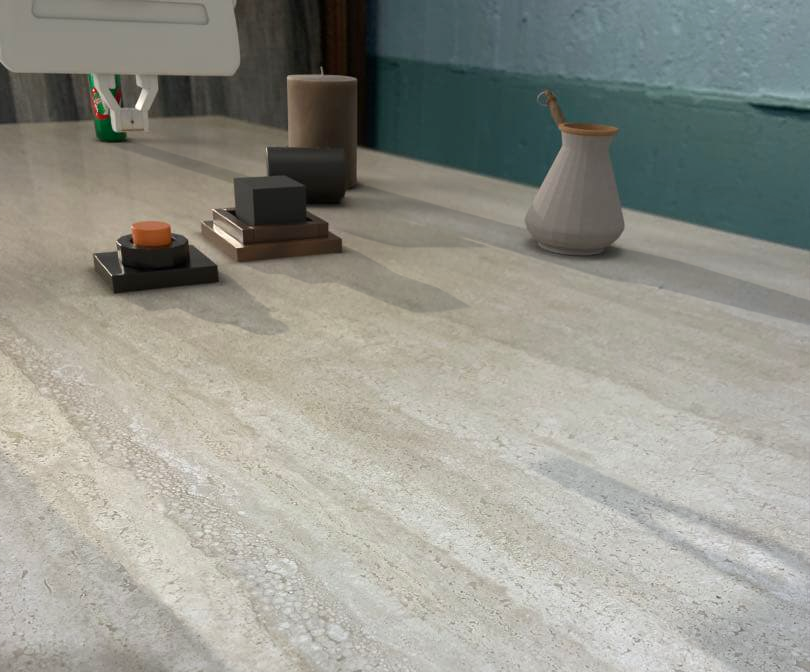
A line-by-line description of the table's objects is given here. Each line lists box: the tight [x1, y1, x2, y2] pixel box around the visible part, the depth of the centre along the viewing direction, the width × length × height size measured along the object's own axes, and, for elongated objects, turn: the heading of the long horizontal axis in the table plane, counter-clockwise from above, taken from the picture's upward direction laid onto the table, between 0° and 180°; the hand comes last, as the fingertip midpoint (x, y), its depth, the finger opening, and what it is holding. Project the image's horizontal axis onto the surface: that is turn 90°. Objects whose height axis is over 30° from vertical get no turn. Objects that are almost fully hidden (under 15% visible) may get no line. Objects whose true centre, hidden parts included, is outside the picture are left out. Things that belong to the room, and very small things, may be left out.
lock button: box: [130, 220, 172, 246], centre depth 83 cm, size 4×4×2 cm
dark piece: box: [92, 232, 220, 294], centre depth 84 cm, size 10×8×4 cm
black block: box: [233, 175, 307, 227], centre depth 95 cm, size 6×6×5 cm
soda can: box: [86, 74, 128, 143], centre depth 144 cm, size 5×5×12 cm
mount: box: [200, 206, 343, 263], centre depth 96 cm, size 12×12×3 cm
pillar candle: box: [286, 66, 358, 191], centre depth 121 cm, size 10×10×15 cm
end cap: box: [265, 145, 347, 204], centre depth 113 cm, size 10×7×7 cm
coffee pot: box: [524, 88, 626, 256], centre depth 101 cm, size 21×12×15 cm, turn 10°
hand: (130, 131), depth 78 cm, fingers closed
